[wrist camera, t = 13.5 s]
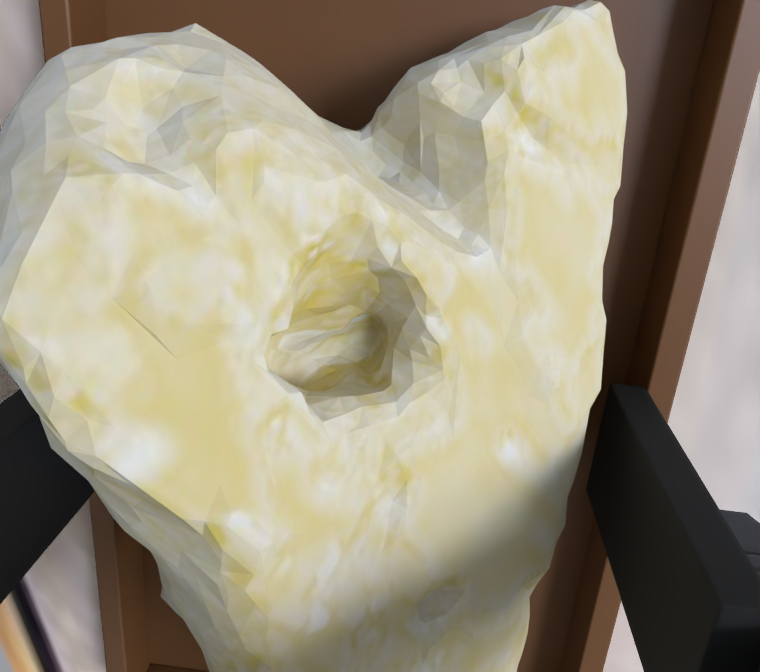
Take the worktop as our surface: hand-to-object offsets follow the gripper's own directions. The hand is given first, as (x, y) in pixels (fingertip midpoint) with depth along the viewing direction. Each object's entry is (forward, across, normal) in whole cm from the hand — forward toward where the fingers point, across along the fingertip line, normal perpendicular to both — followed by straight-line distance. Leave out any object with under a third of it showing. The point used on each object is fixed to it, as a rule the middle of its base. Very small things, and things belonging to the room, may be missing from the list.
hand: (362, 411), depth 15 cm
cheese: (+1, +1, 0) cm, 2 cm away
